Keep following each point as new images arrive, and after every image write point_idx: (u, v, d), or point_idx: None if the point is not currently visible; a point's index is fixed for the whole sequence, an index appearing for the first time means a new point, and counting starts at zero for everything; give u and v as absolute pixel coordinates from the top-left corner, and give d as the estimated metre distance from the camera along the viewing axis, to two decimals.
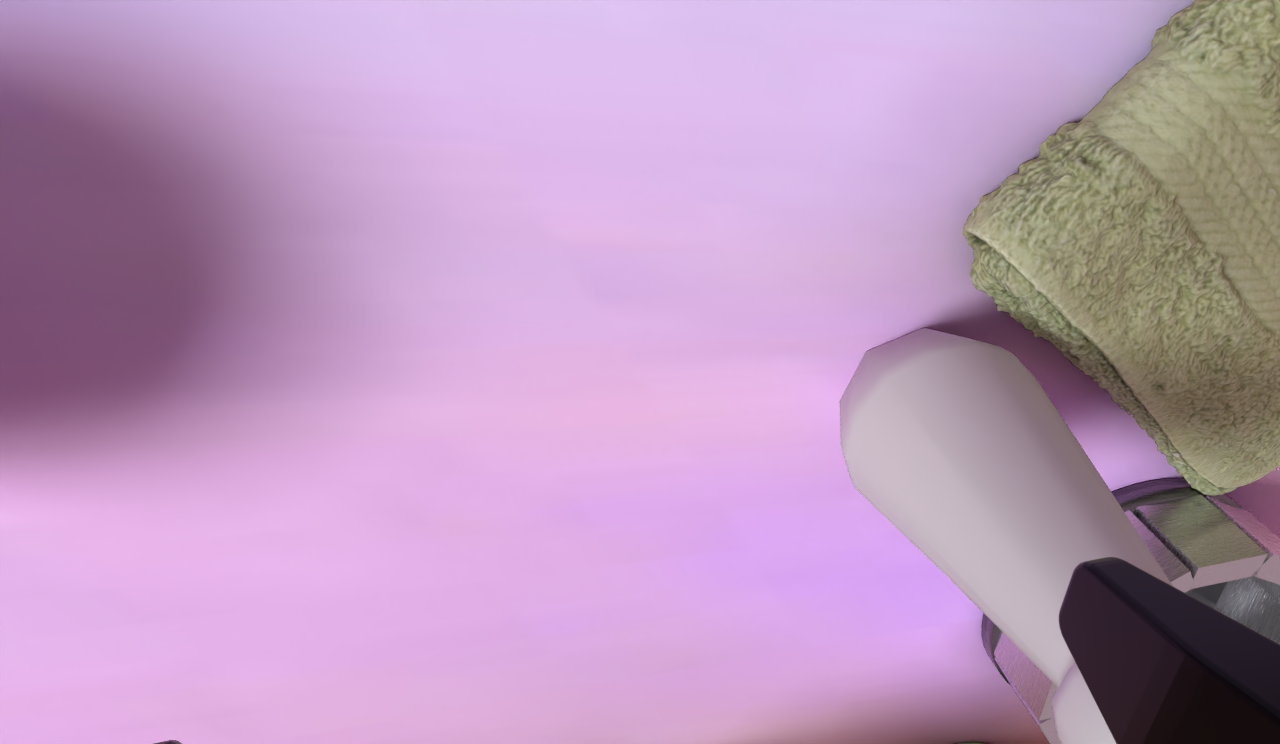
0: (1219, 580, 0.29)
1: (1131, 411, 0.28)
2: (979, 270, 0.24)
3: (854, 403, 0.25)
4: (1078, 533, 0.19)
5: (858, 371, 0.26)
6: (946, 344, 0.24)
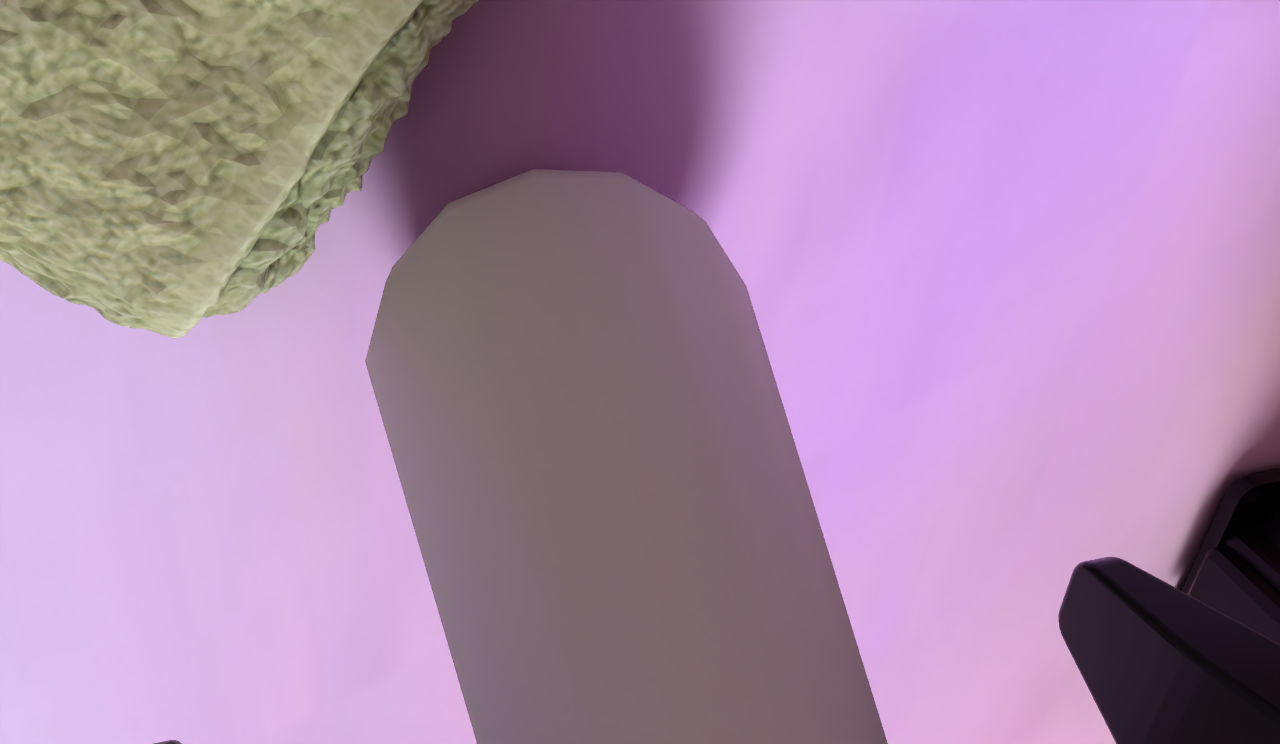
0: None
1: None
2: None
3: None
4: None
5: None
6: None
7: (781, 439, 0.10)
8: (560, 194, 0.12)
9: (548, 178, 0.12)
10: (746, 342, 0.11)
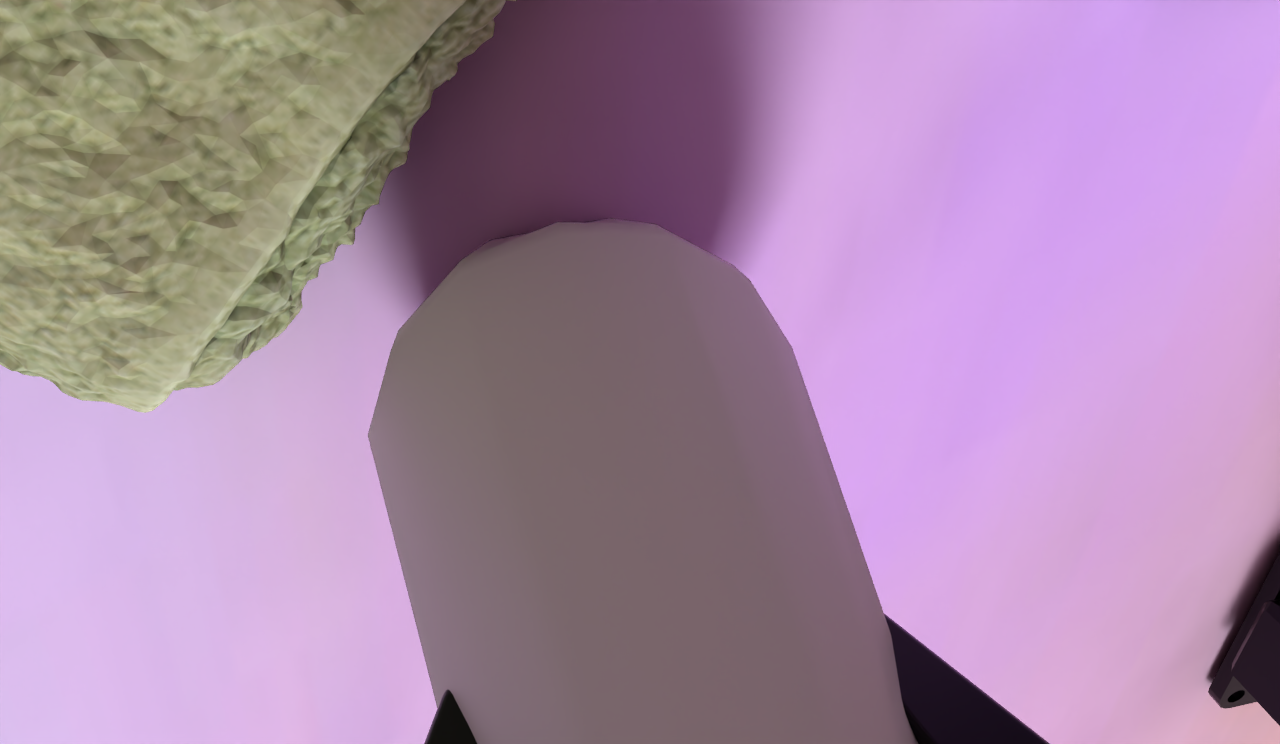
0: None
1: None
2: None
3: None
4: None
5: None
6: None
7: (848, 547, 0.09)
8: (589, 254, 0.10)
9: (575, 234, 0.11)
10: (802, 426, 0.10)
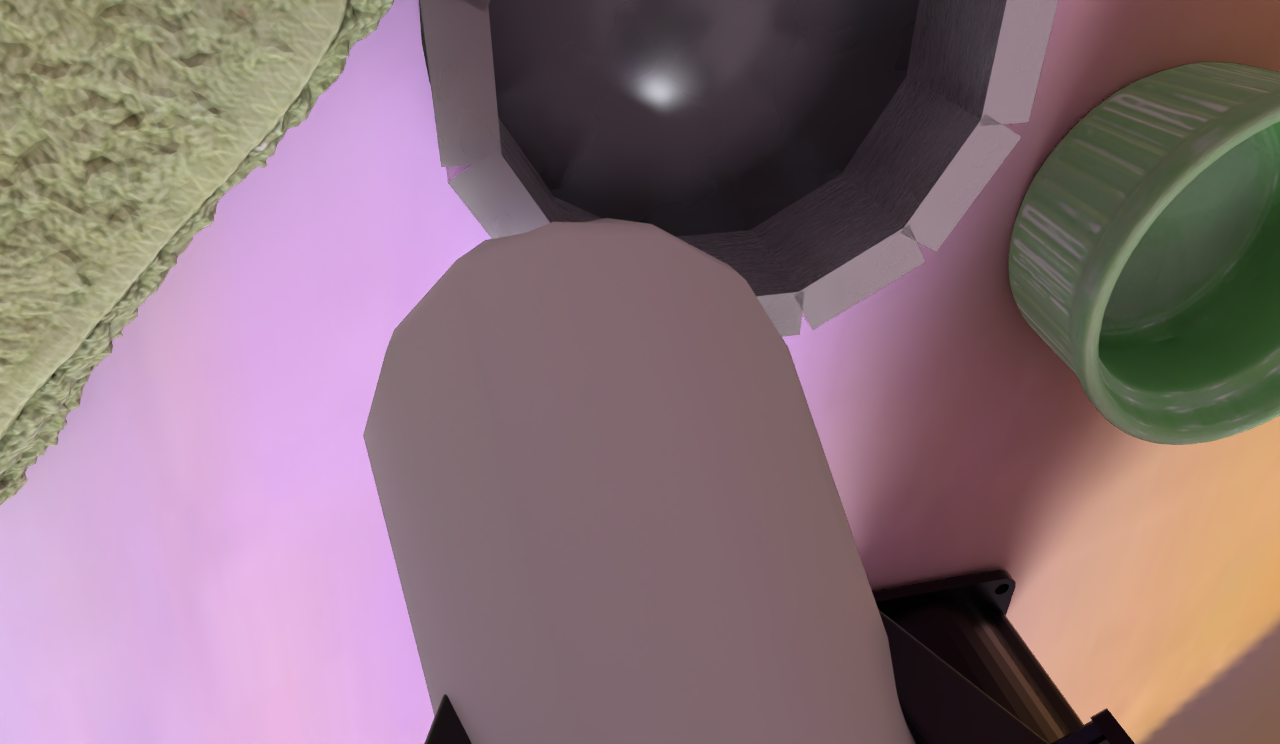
0: (488, 94, 0.14)
1: (168, 267, 0.17)
2: None
3: None
4: None
5: None
6: None
7: (843, 547, 0.09)
8: (584, 253, 0.10)
9: (570, 234, 0.11)
10: (798, 426, 0.10)
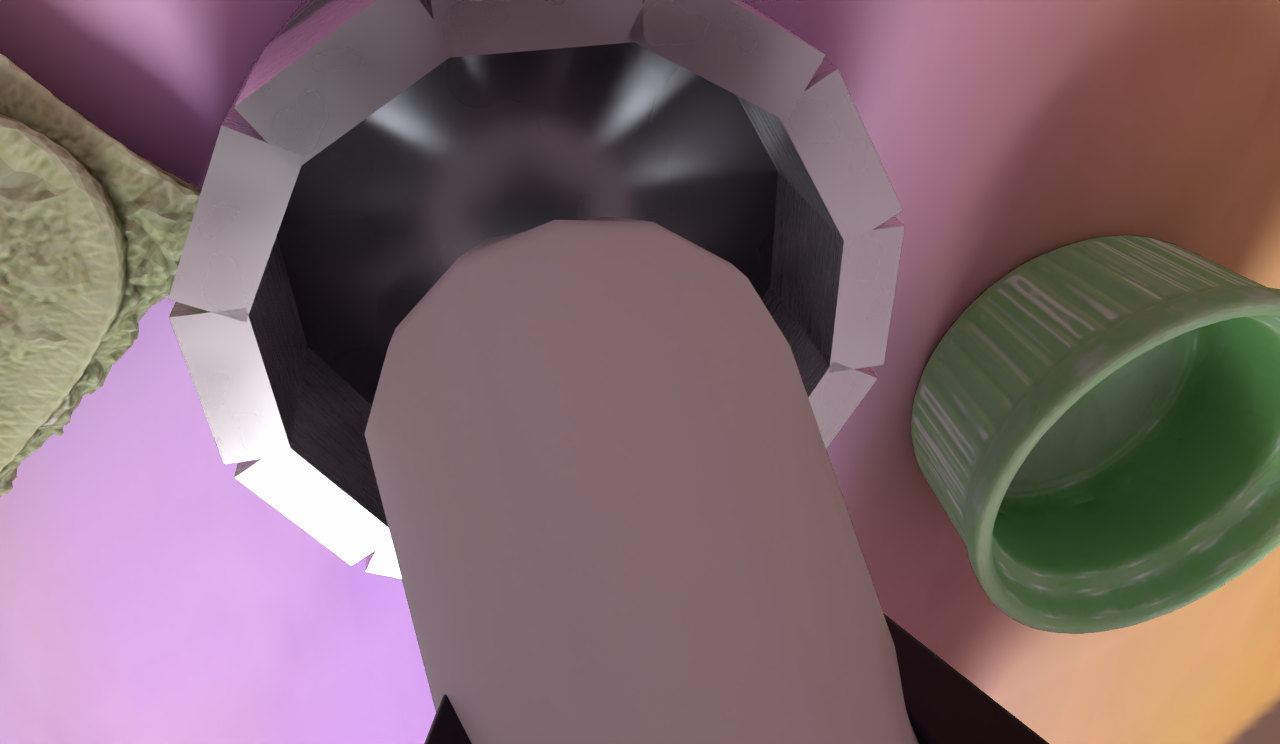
0: (264, 395, 0.13)
1: None
2: None
3: None
4: None
5: None
6: None
7: (846, 545, 0.09)
8: (587, 251, 0.10)
9: (572, 232, 0.10)
10: (800, 424, 0.10)
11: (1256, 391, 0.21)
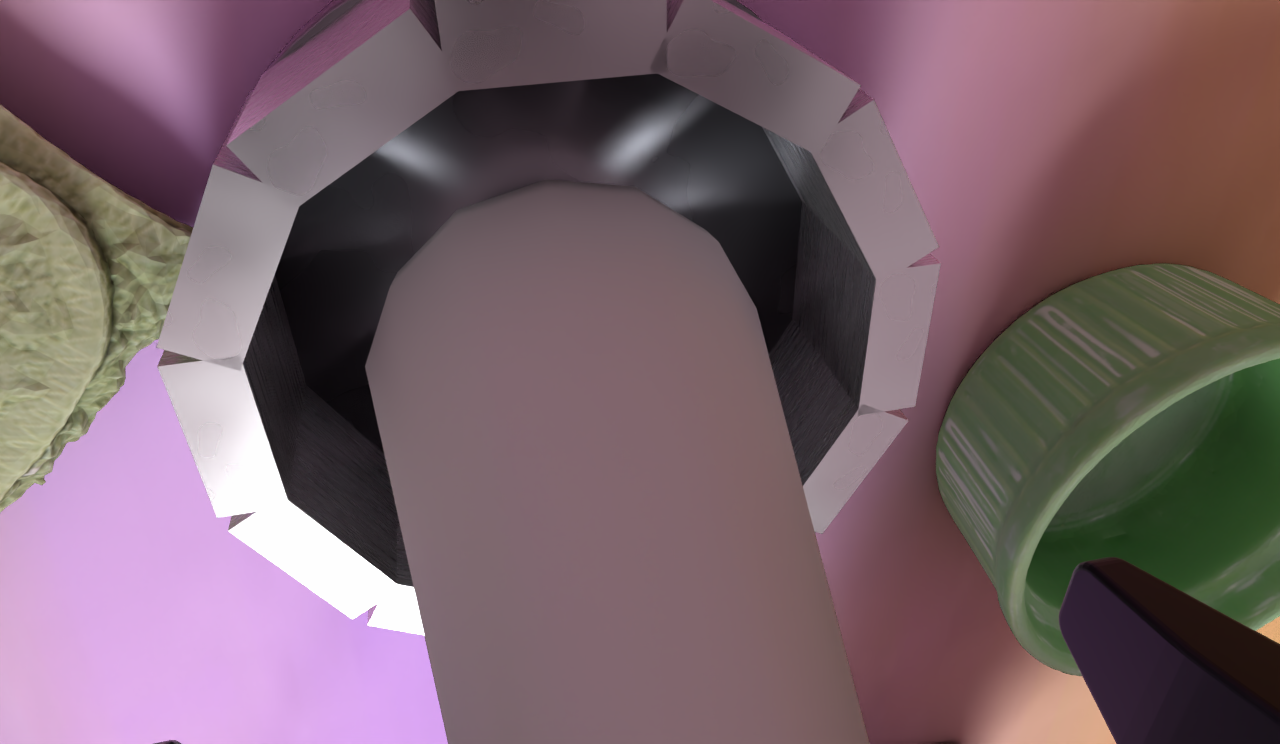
0: (260, 446, 0.12)
1: None
2: None
3: None
4: None
5: None
6: None
7: (785, 467, 0.10)
8: (571, 205, 0.11)
9: (560, 189, 0.12)
10: (754, 366, 0.11)
11: None
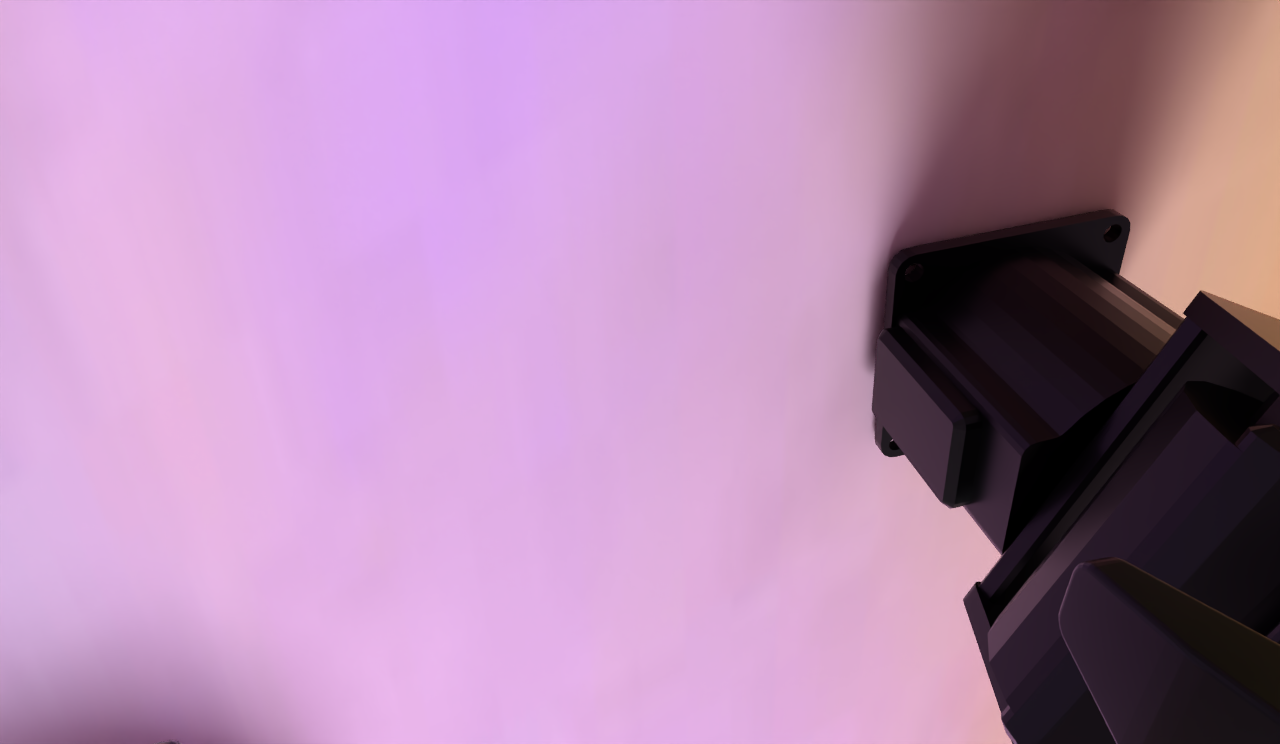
0: None
1: None
2: None
3: None
4: None
5: None
6: None
7: None
8: None
9: None
10: None
11: None
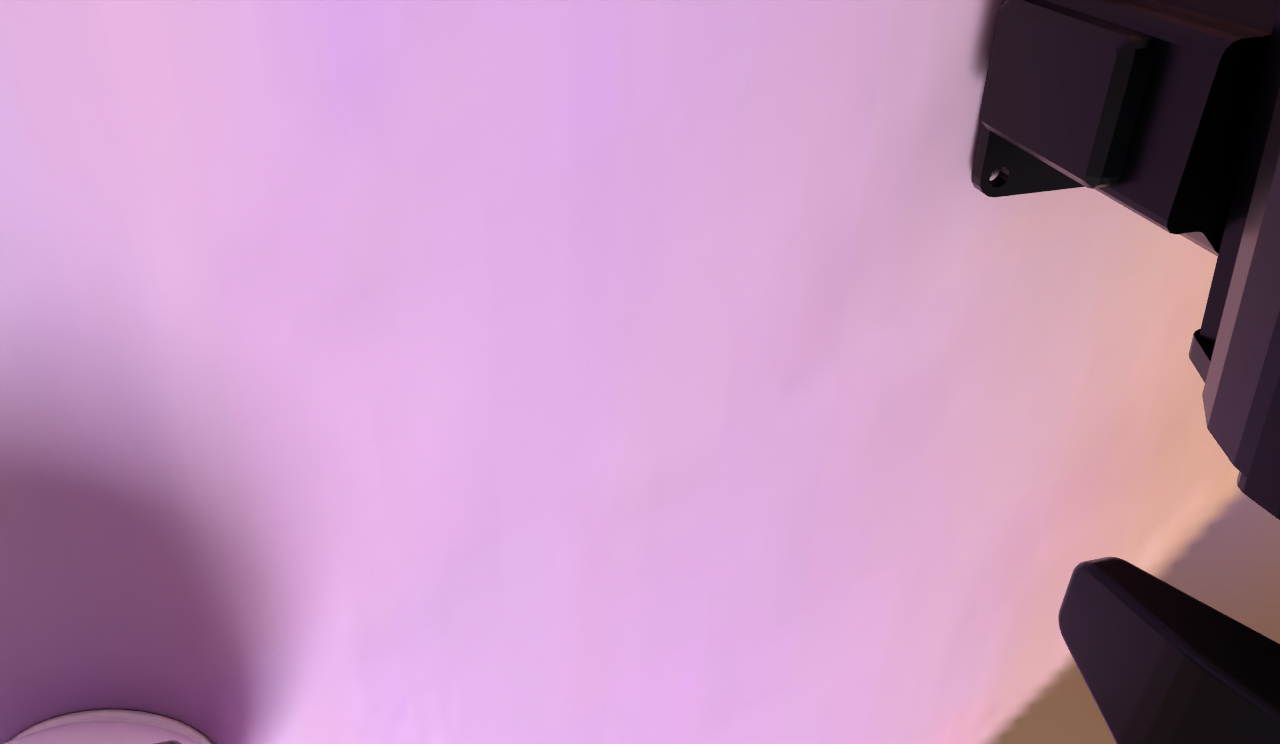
0: None
1: None
2: None
3: None
4: None
5: None
6: None
7: None
8: None
9: None
10: None
11: None
